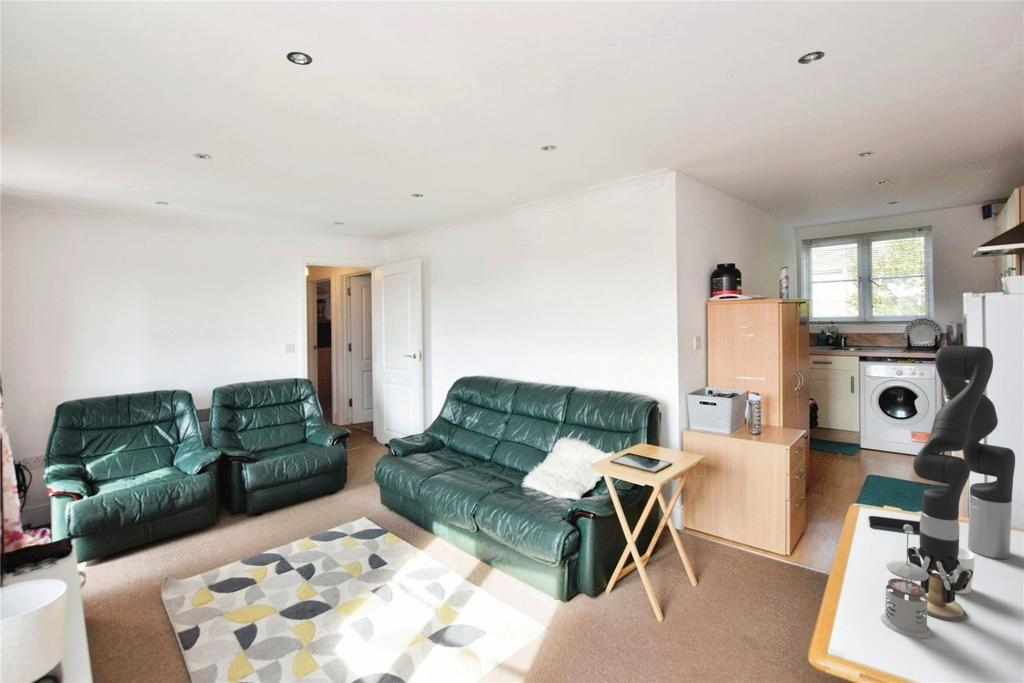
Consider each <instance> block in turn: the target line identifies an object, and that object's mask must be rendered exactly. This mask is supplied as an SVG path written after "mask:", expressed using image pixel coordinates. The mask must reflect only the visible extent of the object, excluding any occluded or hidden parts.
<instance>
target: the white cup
mask: <svg viewBox="0 0 1024 683" xmlns="http://www.w3.org/2000/svg"><path fill="white" fill-rule="evenodd" d="M975 559H976V556H975V554H974V553H973V552H972V551H971V550H967V549H965V548H963V547H959V554H958V561H959V563H960V565H961V566H962V567H964V568H965V569H967V570H968V569H971V570H972V571H973V573H974V570H975ZM936 573H938V572H937V571H936ZM954 573H955V581H957V579H958V577H959V575H958V570H957V569H955V570H954ZM938 574H940V573H938ZM973 579H974V574H973V575H972V577H971V579H970V581H969V583H968V585H967V587H966V588H965V589H964V590H961V591H955V594H960V595H969V594H970V593H971V591H972V583H973Z"/></svg>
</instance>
